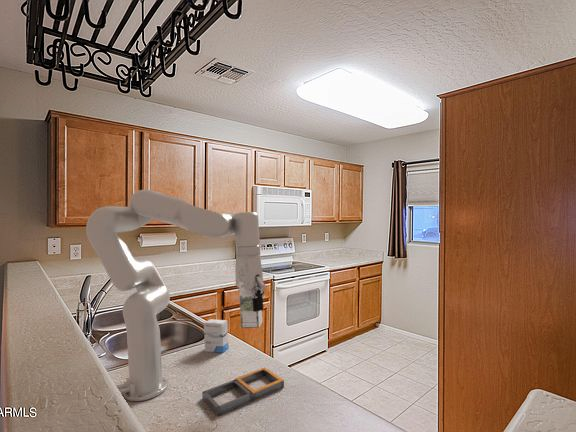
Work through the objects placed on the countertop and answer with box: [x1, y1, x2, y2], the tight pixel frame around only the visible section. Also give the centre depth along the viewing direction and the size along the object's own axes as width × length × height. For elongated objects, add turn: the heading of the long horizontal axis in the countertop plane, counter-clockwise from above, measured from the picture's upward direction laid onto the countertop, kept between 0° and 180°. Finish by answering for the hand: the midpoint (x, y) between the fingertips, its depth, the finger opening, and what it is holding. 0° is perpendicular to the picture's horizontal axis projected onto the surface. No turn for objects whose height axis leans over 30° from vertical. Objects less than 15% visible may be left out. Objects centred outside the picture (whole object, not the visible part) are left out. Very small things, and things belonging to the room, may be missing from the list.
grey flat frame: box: [201, 367, 285, 417], centre depth 96 cm, size 22×11×2 cm, turn 126°
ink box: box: [203, 318, 230, 354], centre depth 129 cm, size 8×5×12 cm, turn 71°
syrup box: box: [238, 280, 263, 329], centre depth 99 cm, size 6×6×14 cm
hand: (251, 307), depth 99 cm, fingers closed on syrup box, 8 cm apart
